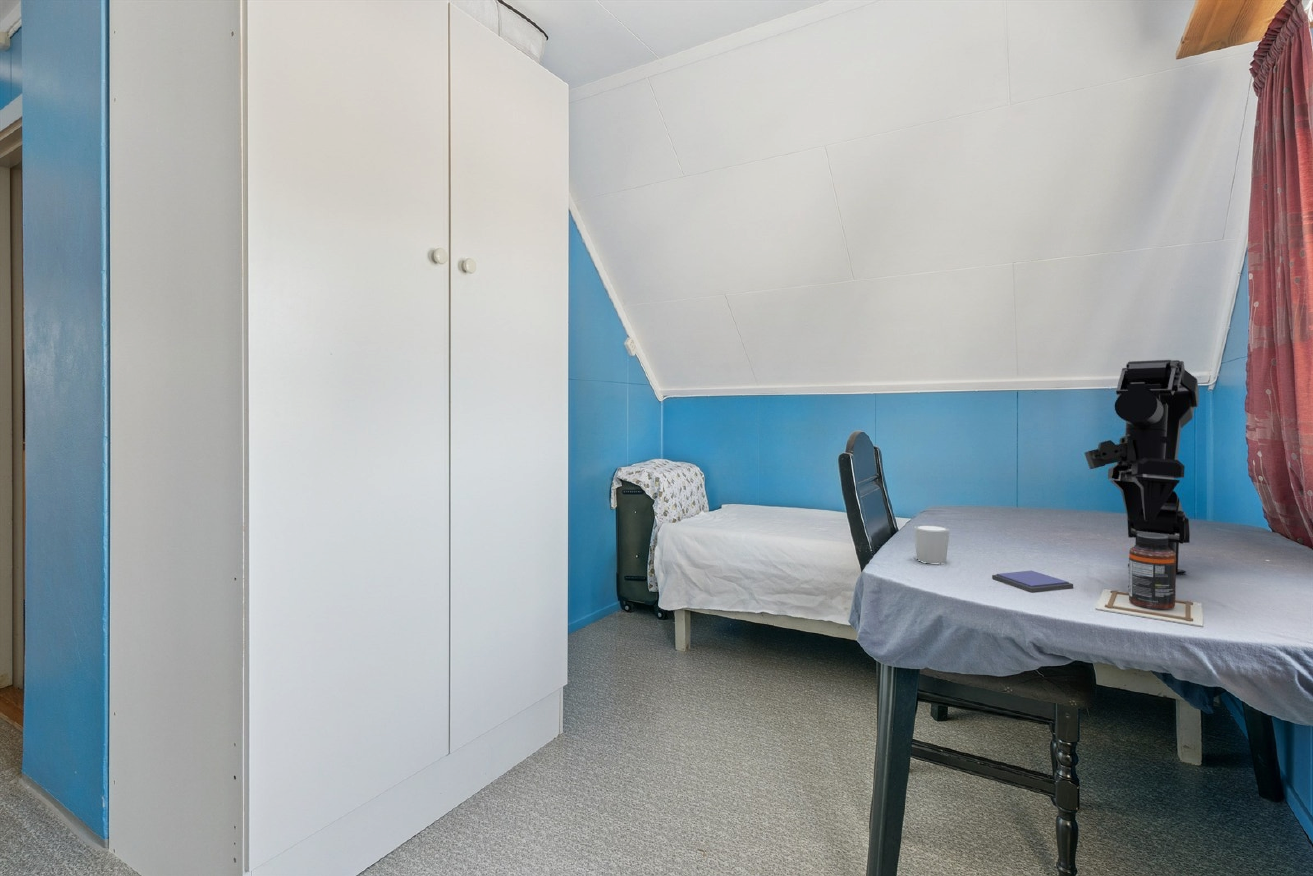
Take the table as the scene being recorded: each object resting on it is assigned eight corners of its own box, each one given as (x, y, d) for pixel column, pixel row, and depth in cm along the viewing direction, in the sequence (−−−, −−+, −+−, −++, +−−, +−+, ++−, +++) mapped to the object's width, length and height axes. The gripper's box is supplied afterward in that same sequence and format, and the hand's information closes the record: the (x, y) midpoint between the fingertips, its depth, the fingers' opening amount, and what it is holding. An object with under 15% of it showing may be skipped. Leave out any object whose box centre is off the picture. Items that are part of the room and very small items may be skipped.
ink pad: (1031, 574, 121) (1031, 569, 121) (1073, 588, 112) (1073, 582, 112) (992, 578, 119) (992, 573, 119) (1031, 592, 110) (1031, 586, 110)
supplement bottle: (1148, 598, 106) (1150, 530, 105) (1185, 609, 100) (1187, 537, 99) (1118, 600, 104) (1120, 532, 104) (1153, 612, 99) (1155, 540, 98)
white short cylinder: (907, 557, 136) (907, 525, 135) (938, 556, 136) (938, 524, 136) (923, 565, 129) (924, 531, 128) (956, 564, 129) (956, 530, 129)
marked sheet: (1103, 590, 111) (1103, 587, 111) (1201, 604, 103) (1202, 601, 103) (1095, 609, 101) (1095, 606, 101) (1203, 627, 93) (1203, 623, 93)
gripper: (1079, 433, 123) (1073, 514, 122) (1105, 420, 106) (1098, 514, 105) (1149, 438, 118) (1143, 522, 117) (1188, 425, 101) (1182, 523, 100)
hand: (1139, 520), depth 110 cm, fingers open, 9 cm apart
